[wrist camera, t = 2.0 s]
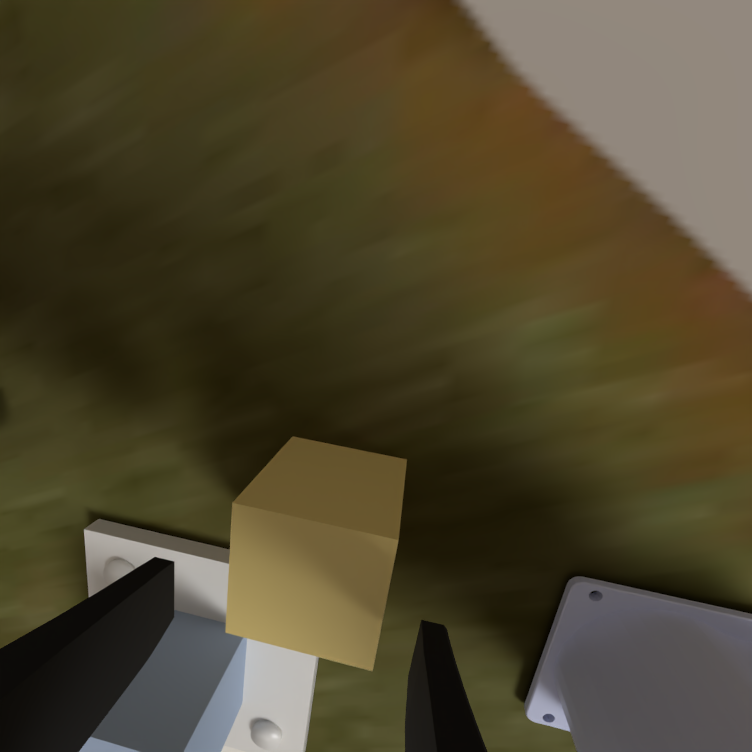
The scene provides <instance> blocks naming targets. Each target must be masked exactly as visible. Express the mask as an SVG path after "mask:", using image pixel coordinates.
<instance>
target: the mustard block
mask: <svg viewBox="0 0 752 752" xmlns="http://www.w3.org/2000/svg"><path fill="white" fill-rule="evenodd" d="M406 465H407V459H402V458H397V457H392V456H387V455H382V454H378V453H373V452H368V451H363V450H358V449H353V448H348V447H343V446H338V445H333V444H328V443H323V442H318V441H313V440H308V439H303V438H298V437H293V436H292V437H291V438H290V440H289V441H288V442H287V443H286V444H285V445H284V446H283V447H282V448H281V450H280V451H279V452H278V453H277V454H276V455H275V456H274V457H273V458H272V459H271V461H270V462H269V463H268V464H267V465H266V466H265V467H264V468H263V469H262V471H261V472H260V473H259V474H258V475H257V476H256V477H255V478H254V479H253V480H252V482H251V483H250V484H249V485H248V486H247V487H246V488H245V489H244V490H243V492H242V493H241V494H240V495H239V496H238V497H237V498H236V499H235V500H234V501H233V503H232V518H231V537H230V555H229V574H228V592H227V611H226V630H225V633H229V634H232V635H236V636H240V637H244V638H248V639H251V640H255V641H259V642H263V643H267V644H271V645H274V646H278V647H282V648H286V649H290V650H293V651H297V652H301V653H305V654H309V655H313V656H316V657H320V658H324V659H328V660H332V661H336V662H339V663H343V664H347V665H351V666H355V667H358V668H362V669H366V670H370V671H373V666H374V661H375V656H376V651H377V646H378V641H379V636H380V631H381V626H382V621H383V616H384V611H385V606H386V601H387V596H388V591H389V586H390V581H391V576H392V571H393V566H394V561H395V556H396V551H397V546H398V541H399V532H400V522H401V513H402V503H403V494H404V484H405V474H406Z"/></svg>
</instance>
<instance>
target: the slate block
mask: <svg viewBox="0 0 752 752" xmlns="http://www.w3.org/2000/svg"><path fill="white" fill-rule="evenodd" d="M225 630H226V623H224V622H220V621H216V620H212V619H208V618H204V617H200V616H196V615H192V614H188V613H184V612H180V611H177V610H174V618H173V620H172V622H171V623H170V625H169V627H168V628H167V630H166V632H165V633H164V635H163V637H162V638H161V640H160V642H159V643H158V645H157V646H156V648H155V650H154V651H153V653H152V654H151V656H150V657H149V659H148V660H147V662H146V663H145V664H144V666H143V667H142V669H141V670H140V671H139V673H138V674H137V675H136V677H135V678H134V679H133V681H132V682H131V683H130V685H129V686H128V687H127V689H126V690H125V691H124V693H123V694H122V695H121V697H120V698H119V699H118V701H117V702H116V703H115V705H114V706H113V707H112V709H111V710H110V711H109V713H108V714H107V715H106V717H105V718H104V719H103V720H102V722H101V723H100V724H99V726H98V727H97V728H96V730H95V731H94V732H93V734H92V735H91V736H90V738H89V739H88V740H87V742H86V743H85V744H84V746H83V747H82V748H81V750H80V751H79V752H221V751H222V748H223V746H224V744H225V742H226V739H227V737H228V735H229V733H230V730H231V728H232V726H233V723H234V721H235V719H236V717H237V714H238V712H239V710H240V708H241V705H242V701H243V687H244V673H245V660H246V646H247V638H244V637H240V636H236V635H232V634H229V633H225Z"/></svg>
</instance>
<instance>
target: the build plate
mask: <svg viewBox="0 0 752 752" xmlns="http://www.w3.org/2000/svg"><path fill="white" fill-rule="evenodd" d="M84 538H85V551H86V565H87V579H88V593H89V597H91V596H92V595H94V594H96V593H97V592H99V591H100V590H102V589H104V588H105V587H107V586H109V585H110V584H112V583H113V582H115V581H117V580H118V579H120V578H121V577H123V576H125V575H126V574H128V573H129V572H131V571H133V570H134V569H136V568H137V567H139V566H141V565H142V564H144V563H146V562H147V561H149V560H151V559H152V558H154V557H158V558H162V559H166V560H170V561H174V610H177V611H180V612H184V613H188V614H192V615H196V616H200V617H204V618H208V619H212V620H216V621H220V622H224V623H226V611H227V592H228V574H229V555H230V549H225V548H221V547H217V546H213V545H208V544H204V543H200V542H196V541H191V540H187V539H183V538H179V537H174V536H170V535H166V534H161V533H157V532H153V531H149V530H144V529H140V528H136V527H132V526H127V525H123V524H119V523H115V522H110V521H106V520H102V519H98V520H96V521H95V522H93V523H92V524H91V525H89V526H88V527H86V528H85V529H84ZM318 659H319V657H316V656H313V655H309V654H305V653H301V652H297V651H293V650H290V649H286V648H282V647H278V646H274V645H271V644H267V643H263V642H259V641H255V640H251V639H248V638H247V646H246V660H245V673H244V687H243V701H242V705H241V708H240V710H239V712H238V714H237V717H236V719H235V721H234V723H233V726H232V728H231V730H230V733H229V735H228V737H227V739H226V742H225V744H224V746H227V747H231V748H234V749H238V750H241V751H245V752H305V750H306V743H307V736H308V729H309V722H310V715H311V708H312V701H313V694H314V687H315V680H316V673H317V666H318Z"/></svg>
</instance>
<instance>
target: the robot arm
mask: <svg viewBox="0 0 752 752" xmlns="http://www.w3.org/2000/svg"><path fill="white" fill-rule="evenodd" d="M592 591H596V592H595V593H590V592H592ZM173 618H174V561H170V560H166V559H162V558H158V557H154V558H152V559H151V560H149V561H147V562H146V563H144V564H142V565H141V566H139V567H137V568H136V569H134V570H133V571H131V572H129V573H128V574H126V575H125V576H123V577H121V578H120V579H118V580H117V581H115V582H113V583H112V584H110V585H109V586H107V587H105V588H104V589H102V590H100V591H99V592H97V593H96V594H94V595H92V596H91V597H89V598H87V599H86V600H84V601H82V602H81V603H79V604H77V605H76V606H74V607H72V608H71V609H69V610H67V611H66V612H64V613H62V614H61V615H59V616H57V617H56V618H54V619H52V620H50V621H49V622H47V623H45V624H43V625H42V626H40V627H38V628H36V629H34V630H33V631H31V632H29V633H27V634H26V635H24V636H22V637H20V638H19V639H17V640H15V641H13V642H12V643H10V644H8V645H6V646H4V647H3V648H1V649H0V752H79V751H80V750H81V748H82V747H83V746H84V744H85V743H86V742H87V740H88V739H89V738H90V736H91V735H92V734H93V732H94V731H95V730H96V728H97V727H98V726H99V724H100V723H101V722H102V720H103V719H104V718H105V717H106V715H107V714H108V713H109V711H110V710H111V709H112V707H113V706H114V705H115V703H116V702H117V701H118V699H119V698H120V697H121V695H122V694H123V693H124V691H125V690H126V689H127V687H128V686H129V685H130V683H131V682H132V681H133V679H134V678H135V677H136V675H137V674H138V673H139V671H140V670H141V669H142V667H143V666H144V664H145V663H146V662H147V660H148V659H149V657H150V656H151V654H152V653H153V651H154V650H155V648H156V646H157V645H158V643H159V642H160V640H161V638H162V637H163V635H164V633H165V632H166V630H167V628H168V627H169V625H170V623H171V622H172V620H173ZM524 708H525V712H526V715H527V717H528V718H529V719H530V720H531V721H533V722H536V723H540V724H544V725H548V726H551V727H555V728H559V729H563V730H567V731H570V732H571V735H572V738H573V741H574V744H575V747H576V750H577V752H752V614H750V613H746V612H741V611H737V610H732V609H727V608H723V607H718V606H714V605H709V604H705V603H700V602H696V601H691V600H687V599H682V598H678V597H673V596H669V595H664V594H660V593H655V592H650V591H646V590H641V589H637V588H632V587H628V586H623V585H619V584H614V583H610V582H605V581H601V580H596V579H592V578H587V577H582V576H577V577H573V578H572V579H570V580H569V581H568V583H567V585H566V588H565V591H564V594H563V596H562V599H561V602H560V605H559V608H558V610H557V613H556V616H555V619H554V622H553V625H552V627H551V630H550V633H549V636H548V639H547V642H546V644H545V647H544V650H543V653H542V656H541V658H540V661H539V664H538V667H537V670H536V673H535V675H534V678H533V681H532V684H531V687H530V689H529V692H528V695H527V698H526V701H525V704H524ZM405 752H487V750H486V747H485V744H484V742H483V739H482V737H481V734H480V731H479V729H478V726H477V723H476V720H475V718H474V715H473V712H472V709H471V707H470V704H469V701H468V698H467V695H466V692H465V690H464V687H463V683H462V680H461V677H460V674H459V671H458V668H457V665H456V661H455V658H454V655H453V651H452V647H451V644H450V640H449V636H448V632H447V629H446V628H445V626H444V625H441V624H437V623H433V622H428V621H424V620H421V624H420V628H419V632H418V637H417V641H416V645H415V650H414V654H413V658H412V662H411V667H410V671H409V675H408V688H407V703H406V719H405Z"/></svg>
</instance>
